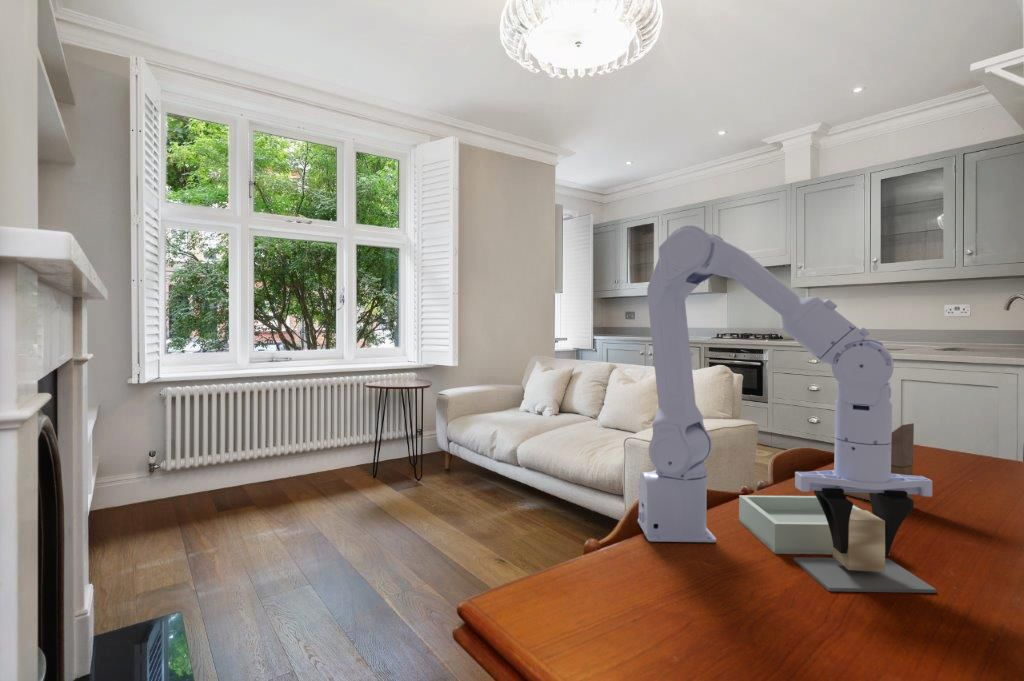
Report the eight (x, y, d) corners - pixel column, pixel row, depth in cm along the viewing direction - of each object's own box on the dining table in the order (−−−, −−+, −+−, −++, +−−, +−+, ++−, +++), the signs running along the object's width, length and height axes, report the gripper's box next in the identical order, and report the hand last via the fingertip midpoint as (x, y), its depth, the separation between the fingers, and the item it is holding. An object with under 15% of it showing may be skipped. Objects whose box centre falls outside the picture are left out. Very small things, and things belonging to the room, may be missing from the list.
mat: (828, 591, 60) (828, 587, 60) (793, 560, 68) (793, 557, 68) (936, 592, 60) (936, 589, 60) (888, 561, 68) (888, 558, 68)
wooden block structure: (901, 510, 87) (903, 401, 86) (835, 492, 96) (837, 394, 96) (913, 507, 89) (915, 400, 88) (847, 489, 98) (849, 393, 98)
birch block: (848, 569, 63) (848, 519, 63) (832, 556, 67) (833, 509, 67) (885, 571, 62) (885, 521, 62) (867, 558, 66) (867, 510, 66)
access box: (774, 553, 70) (775, 523, 70) (738, 520, 82) (739, 495, 82) (889, 555, 70) (890, 525, 70) (836, 521, 82) (837, 496, 82)
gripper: (907, 434, 67) (905, 541, 67) (786, 431, 69) (784, 535, 69) (945, 447, 60) (943, 565, 60) (809, 443, 62) (807, 558, 62)
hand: (860, 551), depth 64 cm, fingers closed on birch block, 4 cm apart
